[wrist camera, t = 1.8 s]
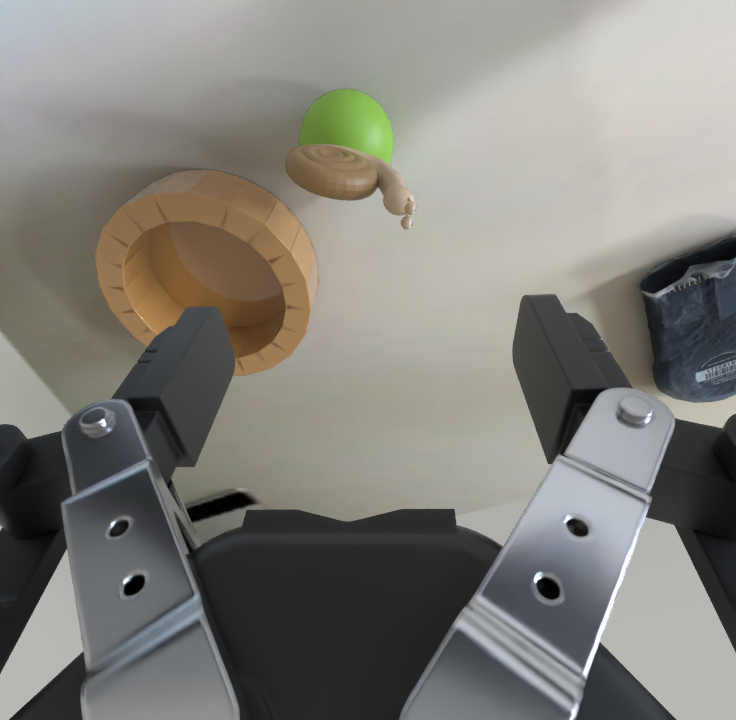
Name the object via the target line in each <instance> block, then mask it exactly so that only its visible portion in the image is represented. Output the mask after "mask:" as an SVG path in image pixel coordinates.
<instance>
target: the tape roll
mask: <svg viewBox="0 0 736 720" xmlns="http://www.w3.org/2000/svg"><path fill="white" fill-rule="evenodd" d="M95 263H96V269H97V276H98V282H99V287H100V289H101V291H102V293H103V295H104V297H105V299H106V301H107V303H108V305H109V307H110V309H111V311H112V313H113V314H114V315H115V317H116V318H117V319H118V320H119V321H120V322H121V323H122V324H123V326H124V327H125V328H126V329H127V330H128V331H129V332H130V333H131V335H132V336H133V337H135V339H137V340H138V341H140V342H141V343H142V344H144V345H145V346H147V347H148V346H149V344H150V343H151V341H152V340H153V339H154V337H156V336H157V335H158V334H160V333H161V332H162V331H164V330H165V329H166V328H168V327H169V326H174V325H175V324H176V322H177V321H178V319H179V318H180V316H181V315H182V313H183V312H184V310H185V309H186V308H187V307H202V306H217V307H218V308H219V309H220V311H221V313H222V316H223V319H224V322H225V325H226V329H227V332H228V335H229V338H230V341H231V344H232V347H233V350H234V354H235V370H234V374H233V376H238V375H249V374H253V373H256V372H260V371H264V370H267V369H271V368H272V367H274V366H275V365H277V364H278V363H280V362H281V361H283V360H284V359H286V358H287V357H289V356H290V355H291V354H293V352H294V351H295V349H296V348H297V347H298V345H299V344H300V342H301V341H302V339H303V338H304V337H305V335H306V332H307V328H308V324H309V320H310V316H311V312H312V308H313V304H314V300H315V295H316V291H317V286H318V282H319V281H318V280H319V279H318V265H317V260H316V256H315V252H314V249H313V246H312V244H311V241H310V239H309V237H308V235H307V233H306V231H305V230H304V228H303V227H302V225H301V224H300V222H299V221H298V219H297V218H296V217H295V216H294V215H293V213H292V212H291V211H290V210H289V209H288V208H287V207H286V206H285V205H284V204H283V203H282V202H281V201H280V200H279V199H278V198H276V197H275V196H273V195H272V194H271V193H269V192H268V191H267V190H265V189H263V188H262V187H260V186H258V185H256V184H255V183H253V182H251V181H248V180H246V179H244V178H241V177H239V176H236V175H232V174H229V173H226V172H220V171H214V170H197V169H196V170H187V171H181V172H176V173H173V174H170V175H168V176H166V177H163V178H161V179H159V180H157V181H155V182H153V183H151V184H149V185H148V186H147V187H145V188H144V189H143V190H142V191H140V192H139V193H138V194H137V195H135V196H134V197H133V198H132V199H130V200H129V201H128V202H126V203H125V204H124V205H123V206H121V207H120V208H119V210H118V211H117V212H116V213H115V214H114V215H113V216H112V218H111V219H110V220H109V221H108V222H107V223H106V224H105V226H104V227H103V228H102V230H101V234H100V238H99V241H98V245H97V249H96V253H95Z"/></svg>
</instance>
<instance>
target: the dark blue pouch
mask: <svg viewBox="0 0 736 720" xmlns="http://www.w3.org/2000/svg"><path fill="white" fill-rule="evenodd" d="M637 286H638V288H639V290H640V293H641V294H642V295H643V300H644V303H645V310H646V314H647V320H648V328H649V331H650V337H651V342H652V348H653V354H654V364H653V368H652V369H653V377H654V381H655V383H656V385H657V388H658V389H659V390H660V391H661V392H662V393H664V394H666V395H668V396H670V397H672V398H674V399H678V400H684V401H689V402H695V403H699V402H713V401H719V400H724V399H727V398H729V397H731V396H734V395H736V232H734V233H732V234H730V235H728V236H726V237H724V238H722V239H720V240H718V241H715V242H713V243H711V244H708V245H706V246H703V247H701V248H699V249H696V250H694V251H692V252H689V253H686V254H684V255H681V256H679V257H676V258H674V259H671V260H669V261H666V262H664V263H662V264H660V265H658V266H656V267H655V268H653V269H652V270H651V271H650V273H649V274H648V275H647V276H646V277H645V278H644V279H642V281H641V283H640V285H637Z"/></svg>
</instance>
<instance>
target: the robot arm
mask: <svg viewBox="0 0 736 720" xmlns="http://www.w3.org/2000/svg"><path fill="white" fill-rule="evenodd" d="M513 363H514V367H515V370H516V373H517V376H518V379H519V382H520V385H521V388H522V390H523V393H524V396H525V399H526V402H527V405H528V408H529V410H530V413H531V416H532V419H533V422H534V425H535V428H536V431H537V433H538V436H539V439H540V442H541V445H542V448H543V451H544V453H545V456H546V459H547V462H548V464H552V465H551V467H550V468H549V470H548V472H547V473H546V475H545V477H544V478H543V480H542V482H541V483H540V485H539V487H538V489H537V490H536V492H535V494H534V495H533V497H532V499H531V500H530V502H529V504H528V505H527V507H526V509H525V510H524V512H523V514H522V516H521V517H520V519H519V520H518V522H517V524H516V526H515V527H514V529H513V531H512V532H511V534H510V536H509V538H508V539H507V541H506V542H505V544H504V546H501V545H500V544H498V543H497V542H495V541H494V540H492V539H490V538H488V537H486V536H484V535H482V534H480V533H478V532H476V531H473V530H470V529H468V528H465V527H461V526H457V525H456V519H455V511H454V509H401V510H397V511H393V512H389V513H385V514H380V515H376V516H372V517H368V518H364V519H360V520H356V521H351V522H345V521H340V520H336V519H332V518H328V517H324V516H320V515H316V514H312V513H308V512H304V511H300V510H247V511H246V515H245V518H244V522H243V525H242V527H238V528H235V529H232V530H230V531H227V532H224V533H222V534H220V535H218V536H216V537H214V538H212V539H210V540H209V541H207V542H205V543H204V544H202V545H201V543H200V541H199V538H198V536H197V534H196V532H195V529H194V527H193V525H192V522H191V520H190V518H189V515H188V513H187V510H186V508H185V506H184V503H183V501H182V499H181V496H180V494H179V492H178V489H177V487H176V485H175V482H174V481H173V479H172V477H171V476H172V474H173V472H174V470H175V468H176V467H195V465H196V462H197V460H198V457H199V455H200V453H201V450H202V448H203V445H204V443H205V441H206V438H207V436H208V434H209V431H210V429H211V426H212V424H213V422H214V419H215V417H216V414H217V412H218V410H219V407H220V405H221V403H222V400H223V398H224V395H225V393H226V391H227V388H228V386H229V384H230V381H231V379H232V376H233V374H234V370H235V354H234V350H233V347H232V344H231V341H230V338H229V335H228V332H227V329H226V325H225V322H224V319H223V316H222V313H221V311H220V309H219V308H218V307H217V306H202V307H187V308H186V309H185V310H184V312H183V313H182V315H181V316H180V318H179V319H178V321H177V322H176V324H175V325H174V326H169V327H168V328H166V329H165V330H164V331H162V332H161V333H160V334H158V335H157V336H156V337H154V339H153V340H152V341H151V343H150V344H149V346H148V347H147V349H146V350H145V353H143V354H142V356H141V357H140V358H139V360H138V364H135V366H134V367H133V368H132V370H131V371H130V373H129V374H128V376H127V377H126V378H125V380H124V381H123V383H122V384H121V385H120V387H119V388H118V390H117V391H116V393H115V394H114V395H113V397H112V398H111V399H108V400H103V401H99V402H96V403H93V404H91V405H89V406H87V407H85V408H83V409H81V410H80V411H78V412H77V413H76V414H74V415H73V416H72V417H71V418H70V419H69V420H68V421H67V423H66V424H65V425H64V427H63V429H62V431H59V432H55V433H51V434H47V435H43V436H39V437H35V438H31V439H27V438H26V437H25V436H24V434H23V433H22V432H21V431H20V429H18V428H17V427H16V426H13V425H8V424H2V425H0V525H1V526H2V527H3V528H2V529H1V531H0V673H1V671H2V669H3V667H4V665H5V664H6V662H7V660H8V658H9V656H10V654H11V652H12V651H13V649H14V647H15V645H16V643H17V641H18V639H19V637H20V636H21V634H22V632H23V630H24V628H25V626H26V624H27V622H28V620H29V619H30V617H31V615H32V613H33V611H34V609H35V607H36V605H37V604H38V602H39V600H40V598H41V596H42V594H43V592H44V590H45V588H46V586H47V585H48V583H49V581H50V579H51V577H52V575H53V573H54V572H55V570H56V568H57V566H58V564H59V562H60V560H61V558H62V557H63V555H64V553H65V551H66V549H67V550H68V556H69V563H70V569H71V575H72V581H73V587H74V594H75V600H76V607H77V613H78V619H79V626H80V632H81V639H82V645H83V652H82V653H81V654H80V655H79V656H78V657H77V658H75V659H74V660H73V661H72V662H71V663H70V664H69V665H68V666H67V667H66V668H65V669H64V670H62V671H61V672H60V673H59V674H58V675H57V676H56V677H55V678H54V679H53V680H52V681H51V682H49V683H48V684H47V685H46V686H45V687H44V688H43V689H42V690H41V691H40V692H39V693H38V694H37V695H35V696H34V697H33V698H32V699H31V700H30V701H29V702H28V703H27V704H26V705H24V706H23V707H22V708H21V709H20V710H19V711H18V712H17V713H16V714H15V715H14V716H13V717H11V718H10V719H9V720H676V719H675V718H674V717H673V716H672V715H671V714H670V713H669V712H668V711H667V710H666V709H665V708H664V707H663V706H662V705H661V704H660V703H659V702H658V701H657V700H656V699H655V698H654V697H653V696H652V695H651V693H649V691H648V690H647V689H646V688H645V687H644V686H643V685H642V684H641V683H640V682H639V681H638V680H637V679H636V678H635V677H634V676H633V675H632V674H631V673H630V672H629V671H628V670H627V669H626V668H625V667H624V666H623V665H622V664H621V663H620V662H619V661H618V660H617V659H616V658H615V657H614V656H613V655H612V654H611V653H610V652H609V651H608V650H607V649H606V648H605V647H604V646H603V645H602V644H601V643H600V640H601V638H602V635H603V632H604V629H605V627H606V624H607V621H608V619H609V616H610V613H611V610H612V608H613V605H614V602H615V599H616V597H617V594H618V591H619V589H620V586H621V583H622V580H623V578H624V575H625V572H626V569H627V566H628V564H629V561H630V558H631V556H632V553H633V550H634V547H635V545H636V542H637V539H638V537H639V534H640V531H641V529H642V526H643V523H644V520H645V518H646V517H647V518H651V519H655V520H659V521H662V522H666V523H670V524H673V525H675V527H676V529H677V531H678V533H679V535H680V537H681V539H682V542H683V544H684V546H685V548H686V550H687V552H688V554H689V556H690V558H691V560H692V562H693V565H694V567H695V569H696V571H697V573H698V575H699V577H700V579H701V581H702V583H703V585H704V587H705V589H706V591H707V594H708V596H709V597H710V600H711V602H712V604H713V606H714V608H715V610H716V612H717V614H718V616H719V619H720V621H721V623H722V625H723V627H724V629H725V631H726V633H727V635H728V637H729V639H730V641H731V643H732V645H733V648H734V650H735V652H736V414H735V415H733V416H731V417H730V418H729V419H728V420H727V422H726V423H725V425H724V426H723V428H718V427H713V426H708V425H703V424H698V423H693V422H688V421H684V420H679V419H676V418H674V415H673V413H672V412H671V410H670V409H669V408H668V407H667V406H666V405H665V404H664V403H663V402H662V401H660V400H659V399H657V398H656V397H654V396H652V395H650V394H648V393H645V392H643V391H640V390H636V389H633V387H632V386H631V384H630V383H629V381H628V379H627V378H626V376H625V375H624V373H623V372H622V370H621V368H620V367H619V365H618V364H617V362H616V361H615V359H614V358H613V356H612V354H611V353H610V352H608V348H607V347H606V345H605V343H604V342H603V340H601V337H600V336H599V334H598V333H597V331H596V329H595V328H594V326H593V325H592V324H591V323H590V322H588V321H587V320H586V319H584V318H583V317H581V316H580V315H579V314H577V313H566V312H565V310H564V308H563V306H562V305H561V303H560V301H559V299H558V298H557V296H556V295H555V294H546V295H524V296H523V297H522V299H521V303H520V308H519V313H518V319H517V325H516V330H515V336H514V341H513Z"/></svg>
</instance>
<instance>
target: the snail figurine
mask: <svg viewBox="0 0 736 720" xmlns="http://www.w3.org/2000/svg"><path fill="white" fill-rule="evenodd" d="M392 153H393V132H392V127H391V124H390V121H389V119H388V117H387V115H386V113H385V111H384V110H383V109H382V107H381V106H380V105H379V104H378V103H377V102H376V101H375V100H374V99H373V98H371V97H370V96H368V95H367V94H365V93H363V92H360V91H357V90H352V89H339V90H334V91H331V92H329V93H326V94H325V95H323V96H321V97H320V98H319V99H317V100H316V101H315V102H314V103H313V104H312V106H311V107H310V108H309V110H308V111H307V113H306V115H305V117H304V119H303V122H302V125H301V130H300V146H299V147H297V148H295V149H293V150H292V151H291V152H290V153H289V154H288V156H287V158H286V163H285V164H286V170H287V173H288V175H289V176H290V178H291V179H292V180H293V181H294V182H295V183H296V184H297V185H299V186H300V187H302V188H303V189H305V190H307V191H309V192H311V193H314V194H317V195H320V196H323V197H327V198H332V199H338V200H360V199H364V198H366V197H369V196H370V195H372V194H373V193H374V192H375V191H376V189H377V187H379V189H380V190H381V192H382V194H383V195H384V197H383V202H384V206H385V208H386V209H387V210H388V211H389V212H390V213H392V214H394V215H404V214H405V215H406V217H404V218H403V219H402V220H401V226H402V227H403V228H404V229H410V228H411V226H412V223H413V221H412V218H411V217H408V215H407V214H409V215H412V214H414V213H415V211H416V204H415V203H414V199H413V194H412V192H411V191H410V190H409V189H408V188H406V186H405V183H404V181H403V179H402V178H401V176H400V175H399V174H398V172H397V171H396V170H395V169H394V168H393V167H392V166H391V165H389V163H390V161H391V157H392Z"/></svg>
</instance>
